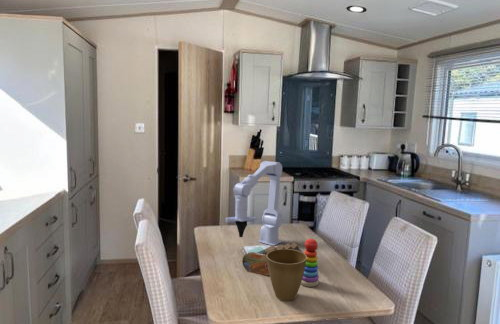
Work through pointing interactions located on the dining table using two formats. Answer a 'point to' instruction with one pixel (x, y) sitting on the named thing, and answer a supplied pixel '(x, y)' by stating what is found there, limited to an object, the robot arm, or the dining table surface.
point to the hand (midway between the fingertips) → (240, 236)
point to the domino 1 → (257, 250)
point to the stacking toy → (310, 264)
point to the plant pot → (286, 272)
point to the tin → (256, 263)
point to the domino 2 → (269, 249)
